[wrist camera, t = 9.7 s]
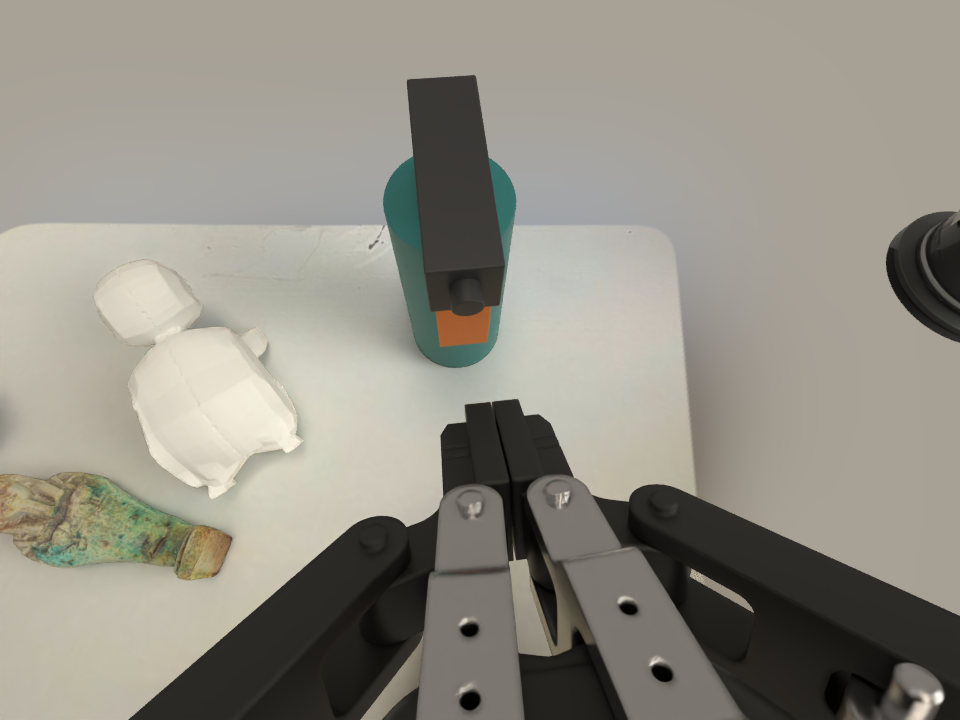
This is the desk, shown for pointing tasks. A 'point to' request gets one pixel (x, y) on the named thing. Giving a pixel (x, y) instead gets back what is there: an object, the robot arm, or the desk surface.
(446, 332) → the spray trigger
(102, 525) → the figurine
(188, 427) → the penguin
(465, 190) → the spray bottle
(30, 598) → the desk surface
